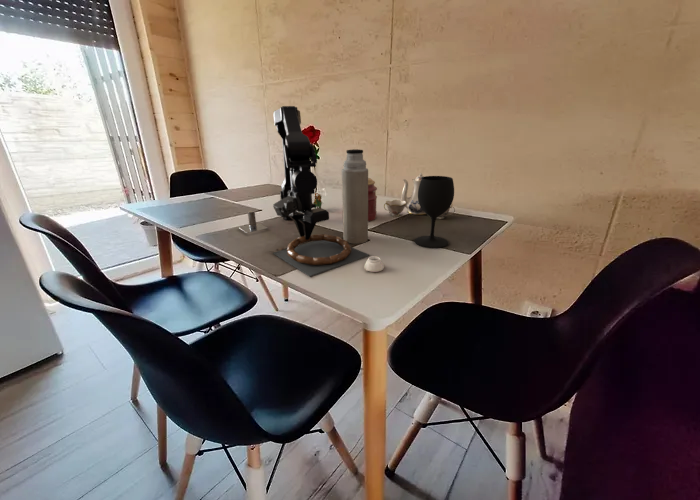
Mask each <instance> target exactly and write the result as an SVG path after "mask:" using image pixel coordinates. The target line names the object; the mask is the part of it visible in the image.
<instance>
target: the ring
mask: <svg viewBox="0 0 700 500" xmlns="http://www.w3.org/2000/svg"><path fill="white" fill-rule="evenodd" d="M313 241H329V242H334V243H337V244H339V245H341V246H343V248H344V250H343V251H342V252H341V253H340V254H337V255H334V256H331V257H319V258H313V257H308V256H303V255H300V254H298V253H297V252H295V249H294V248H295V247H297V246H299V245H302V244H306V243H309V242H313ZM351 247H352V246H351V245H350V243H348V242H347V241H346V240H344V239H343V238H341V237H340V236H338V235H333V234H325V233H321V234H320V233H319V234H317V233H316V234H311V236H310V238H309V239H308V240H306V239H305V235H304V236H303V237H300V236H299V237H296V238H294V239H293V240H292V241H291V242H289V243H287V247H286V249H287V254H288V256H290V257H291V258H292V259H294V260H295V261H297V262H299V263H304V264H309V265H330V264H333V263H336V262H339V261H342V260H344V259H346V257H347V256H348V255H349V254H350V253H351Z"/></svg>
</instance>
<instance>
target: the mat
mask: <svg viewBox="0 0 700 500" xmlns="http://www.w3.org/2000/svg"><path fill="white" fill-rule="evenodd" d="M350 247H351V253H350V254H349V255H348V256H347V257H346V259H344V260H342V261H339V262H336V263H333V264H330V265H309V264H304V263H299V262H297V261H295V260H294V259H292V258H291V257H290V256H288V254H287V248H285V249H281V250H277V251H274V252H272V254H273V255H274V256H276V257H277V258H279V259H280V260H282V261H284V262H285V263H287V264H288V265H290V266H291V267H293V268H294V269H297V270H298V271H299V272H301V273H303V274H305V276H308V277H310V278H312V277H314V276H318V275H320V274H323V273H326V272H329V271H332V270H335V269H337V268H340V267H343V266H345V265H349V264H352V263H354V262H357V261H360V260H362V259H365V258H369V257H370V254H369V253H366V252H364V251H362V250H360V249H357V248H355V247H352V246H350ZM294 249H295V252H297V253H298V254H300V255H303V256H308V257H313V258H319V257H331V256H334V255H337V254H340V253H341V252H342V251H343V250H344V248H343V246H341V245H339V244H337V243H334V242H329V241H310V242H306V243H302V244H299V245H298V246H297V247H295V248H294Z"/></svg>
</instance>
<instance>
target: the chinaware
mask: <svg viewBox="0 0 700 500" xmlns="http://www.w3.org/2000/svg"><path fill="white" fill-rule="evenodd" d="M422 177H425V176H423V173H422V172H420V173H419V174H418V175H417V176H416V178H414V179H412V191H411V194H410V196H409V197H408V190H409V181H408V180H407V179H405V178H404V179H402V181H403V183H404V186H403V189H402V192H401V196H400V198H401V199H400V200H399V199H393V200H386V201H385V203H384V204H383V208H384V210H385V211H388V213H389V214H390V213H391V214H390V216H392V217H399V216H400V214H401V213H403V211H404V210H405V209H407V213H408V214H410V215H415V216H422V215H427V214H426V213H425V212H424V211H423V210H422V208H421V207H420V205H419V202H418V189H419V185H420V182H421V179H422ZM452 208H453V212H452V213H451V215H453V214H455V212H456V208H455V207H454V206H453V203H452V204H451V206H450V207H449V209H448V210H447V211H446V212H444V213H443V214H442V215H440V216H438V217H437V218H436V219H437V220H442V219H445V217H448V215H450V209H452Z"/></svg>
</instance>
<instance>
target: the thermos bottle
mask: <svg viewBox="0 0 700 500" xmlns="http://www.w3.org/2000/svg"><path fill="white" fill-rule="evenodd" d="M368 178H369V169H368V168H367V161H366V160H364V150H363V149H360V148H359V149H357V148H356V149H355V148H354V149H347V150H346V159H345V160H344V162H343V168H342V169H341V193H342V194H341V197H342V198H341V199H342V201H341V202H342V231H343V232H342V233H343V235H342V236H343V238H342V239H344V240H346V241H347V242H348V243H349V244H353V245H354V244H355V245H358V244H363V243H366V242H368V240H369V221H368Z"/></svg>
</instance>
